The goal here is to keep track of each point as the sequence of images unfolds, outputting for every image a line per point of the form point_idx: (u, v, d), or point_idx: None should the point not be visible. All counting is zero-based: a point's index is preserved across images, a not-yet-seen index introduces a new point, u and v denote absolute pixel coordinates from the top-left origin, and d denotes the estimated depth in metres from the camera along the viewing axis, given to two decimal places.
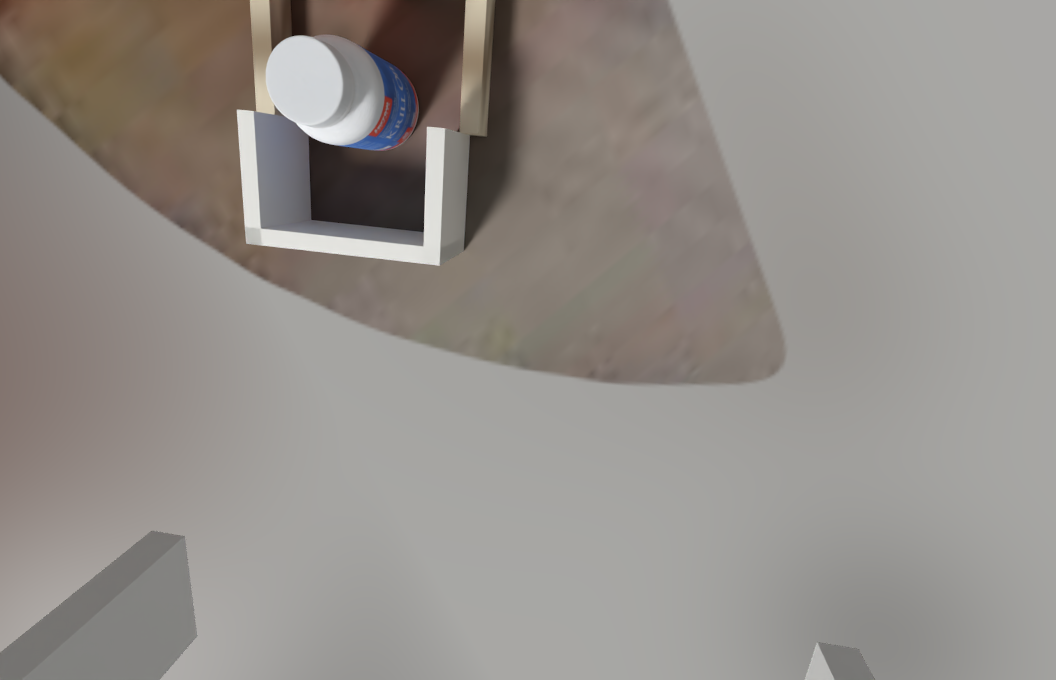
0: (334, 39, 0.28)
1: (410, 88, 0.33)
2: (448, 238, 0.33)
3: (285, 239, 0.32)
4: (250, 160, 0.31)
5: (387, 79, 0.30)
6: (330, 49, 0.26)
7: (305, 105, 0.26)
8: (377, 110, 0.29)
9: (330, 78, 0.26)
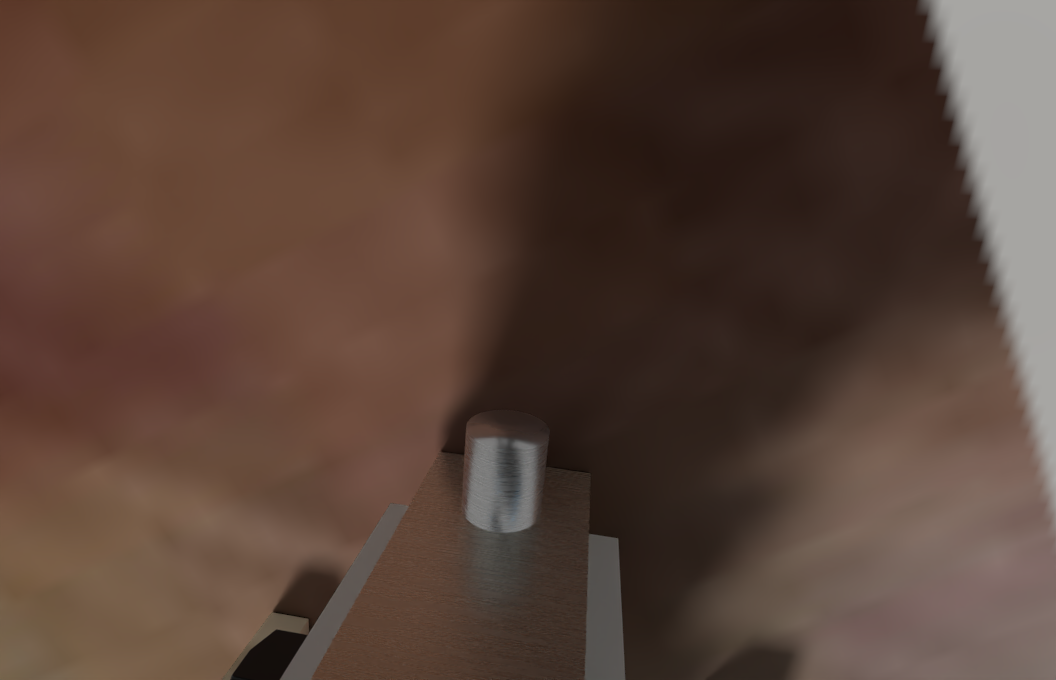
0: None
1: None
2: None
3: None
4: None
5: None
6: None
7: None
8: None
9: None
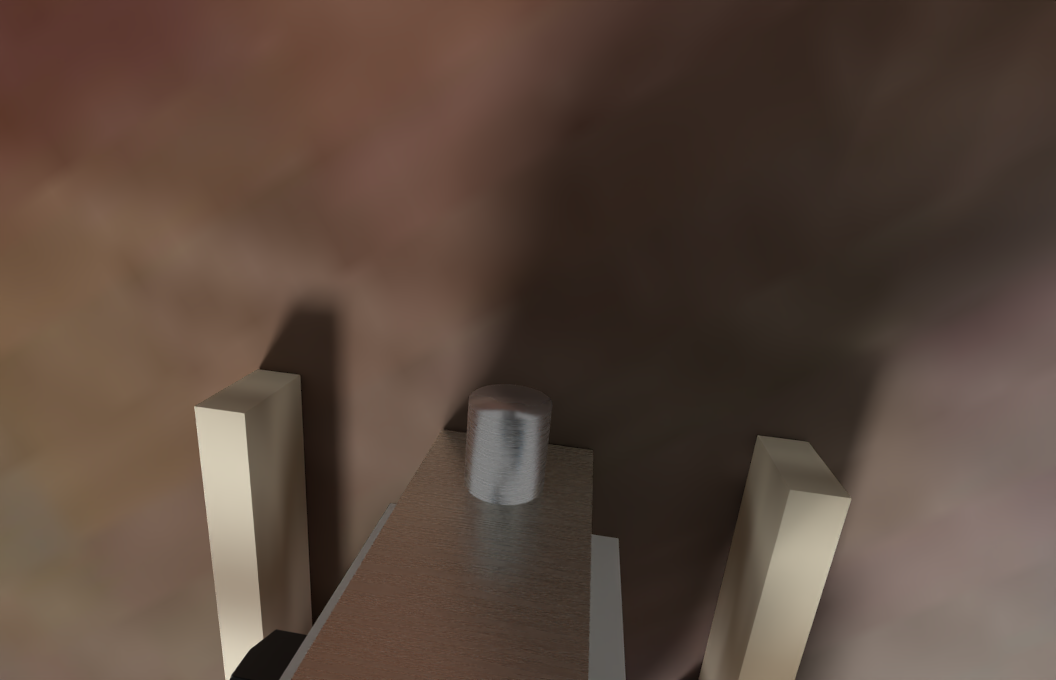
0: None
1: None
2: None
3: None
4: None
5: None
6: None
7: None
8: None
9: None
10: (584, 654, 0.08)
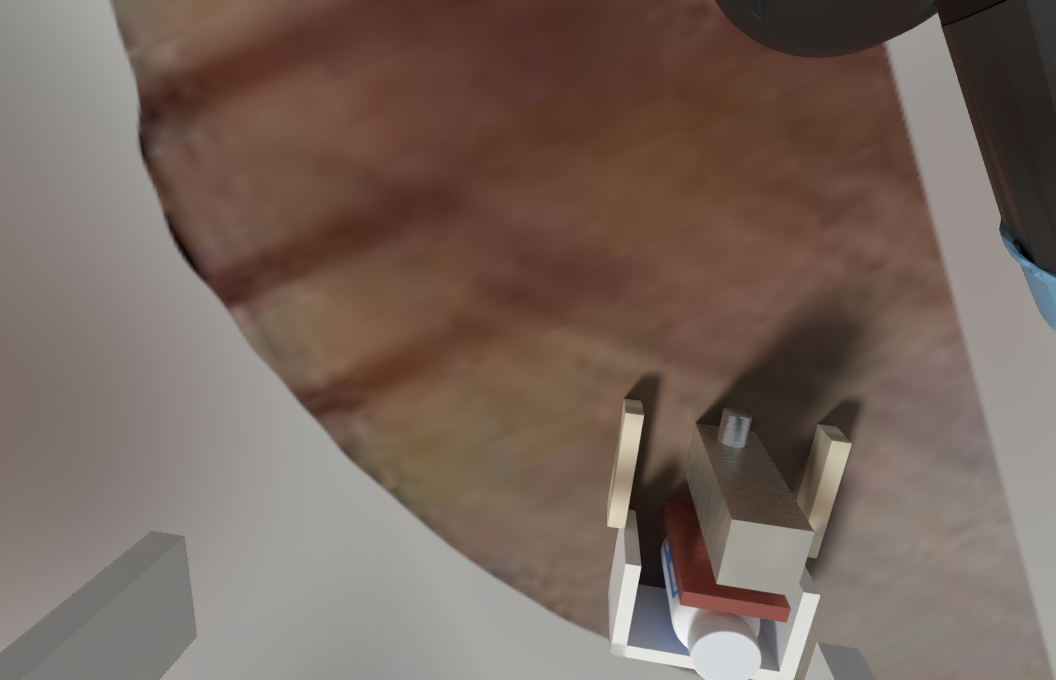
0: None
1: None
2: None
3: (648, 655, 0.37)
4: (629, 599, 0.36)
5: None
6: (754, 641, 0.31)
7: (723, 673, 0.32)
8: None
9: (750, 660, 0.31)
10: (782, 479, 0.31)
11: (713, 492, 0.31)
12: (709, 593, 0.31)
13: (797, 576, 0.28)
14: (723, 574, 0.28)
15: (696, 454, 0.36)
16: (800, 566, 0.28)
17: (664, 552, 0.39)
